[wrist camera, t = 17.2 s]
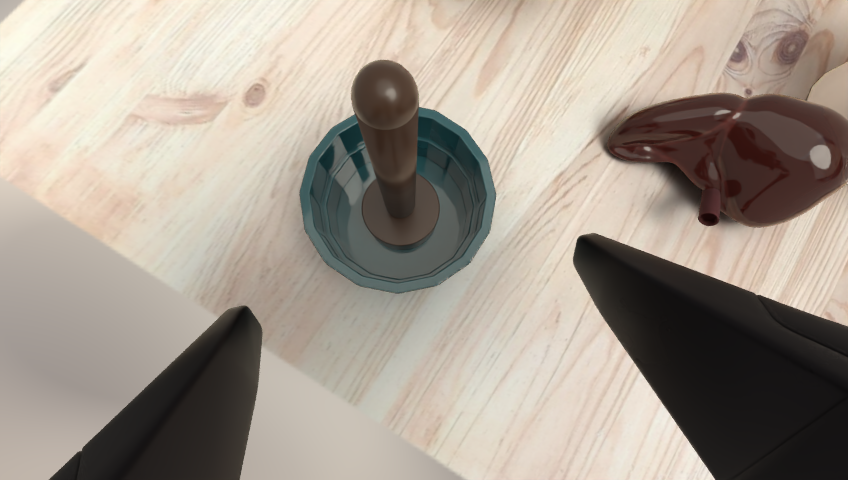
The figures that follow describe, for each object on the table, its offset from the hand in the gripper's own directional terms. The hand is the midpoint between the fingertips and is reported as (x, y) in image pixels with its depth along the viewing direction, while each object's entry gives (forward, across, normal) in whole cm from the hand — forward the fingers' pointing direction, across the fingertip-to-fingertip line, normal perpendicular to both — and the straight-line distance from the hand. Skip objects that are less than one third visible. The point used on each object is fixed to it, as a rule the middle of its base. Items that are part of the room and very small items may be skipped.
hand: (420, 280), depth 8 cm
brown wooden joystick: (+11, 0, +4) cm, 11 cm away
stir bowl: (+11, 0, +5) cm, 12 cm away
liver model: (+11, -21, +5) cm, 24 cm away
